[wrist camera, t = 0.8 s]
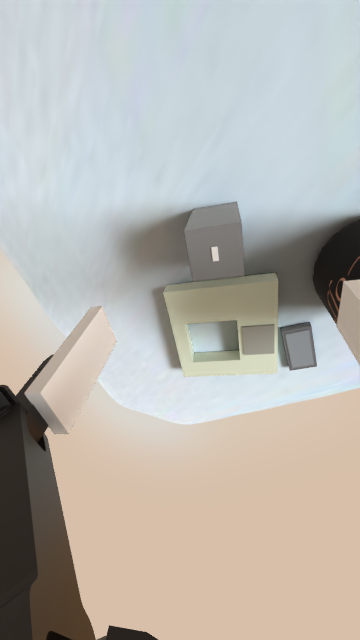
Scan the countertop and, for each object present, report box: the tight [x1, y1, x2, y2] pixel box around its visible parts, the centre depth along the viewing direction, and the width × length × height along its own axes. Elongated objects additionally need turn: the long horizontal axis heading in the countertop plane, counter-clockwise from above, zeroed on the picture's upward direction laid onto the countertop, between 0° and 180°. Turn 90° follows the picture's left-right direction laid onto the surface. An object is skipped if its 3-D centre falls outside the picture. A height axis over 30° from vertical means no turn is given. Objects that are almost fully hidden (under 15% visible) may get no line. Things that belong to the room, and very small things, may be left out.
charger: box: [184, 202, 245, 281], centre depth 25 cm, size 4×4×8 cm
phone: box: [281, 322, 317, 370], centre depth 35 cm, size 7×4×1 cm, turn 21°
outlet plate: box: [163, 273, 278, 377], centre depth 35 cm, size 14×13×2 cm
